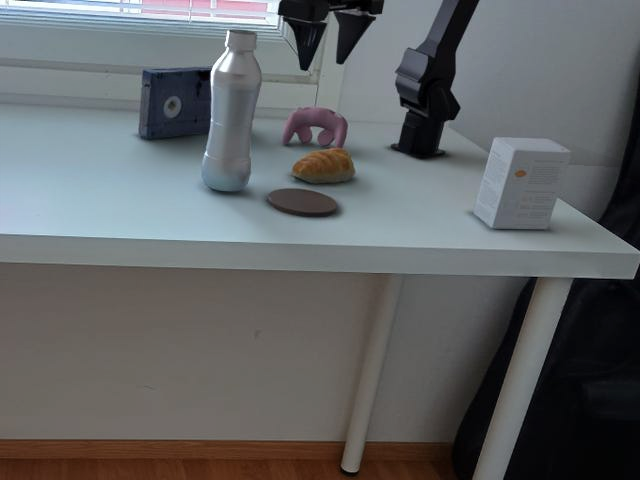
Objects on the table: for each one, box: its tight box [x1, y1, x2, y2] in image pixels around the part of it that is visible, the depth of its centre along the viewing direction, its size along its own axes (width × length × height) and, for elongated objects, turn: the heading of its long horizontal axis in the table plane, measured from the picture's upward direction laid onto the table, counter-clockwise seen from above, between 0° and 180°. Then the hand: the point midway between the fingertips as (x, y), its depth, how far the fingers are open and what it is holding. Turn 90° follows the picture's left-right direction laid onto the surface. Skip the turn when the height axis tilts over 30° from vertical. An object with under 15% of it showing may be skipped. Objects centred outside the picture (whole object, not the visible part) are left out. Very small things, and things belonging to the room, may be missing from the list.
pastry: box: [291, 147, 356, 185], centre depth 121 cm, size 9×7×4 cm
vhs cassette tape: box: [137, 65, 214, 140], centre depth 134 cm, size 18×3×10 cm, turn 122°
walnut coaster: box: [267, 187, 338, 218], centre depth 111 cm, size 9×9×1 cm
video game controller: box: [281, 106, 349, 149], centre depth 135 cm, size 10×5×7 cm
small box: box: [473, 136, 573, 230], centre depth 110 cm, size 8×6×10 cm
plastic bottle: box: [200, 28, 264, 192], centre depth 109 cm, size 6×7×20 cm
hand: (322, 67), depth 125 cm, fingers open, 9 cm apart
